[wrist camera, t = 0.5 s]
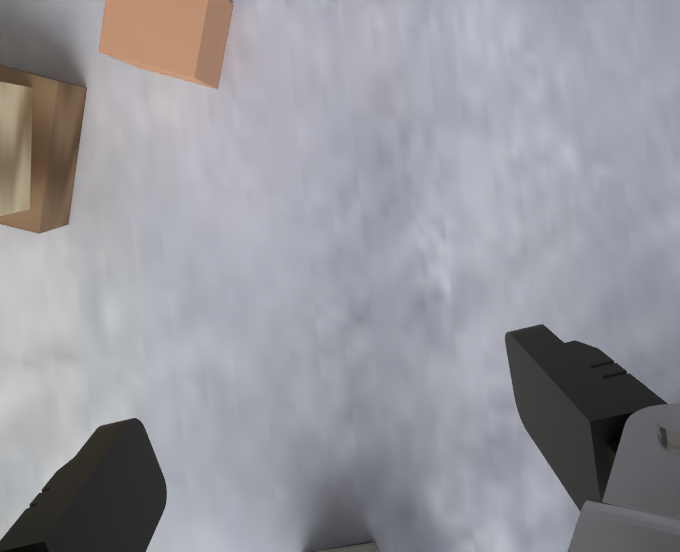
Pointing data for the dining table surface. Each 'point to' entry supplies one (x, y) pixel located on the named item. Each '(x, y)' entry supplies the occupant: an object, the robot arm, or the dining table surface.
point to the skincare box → (355, 548)
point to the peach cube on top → (169, 36)
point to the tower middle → (15, 147)
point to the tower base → (49, 149)
